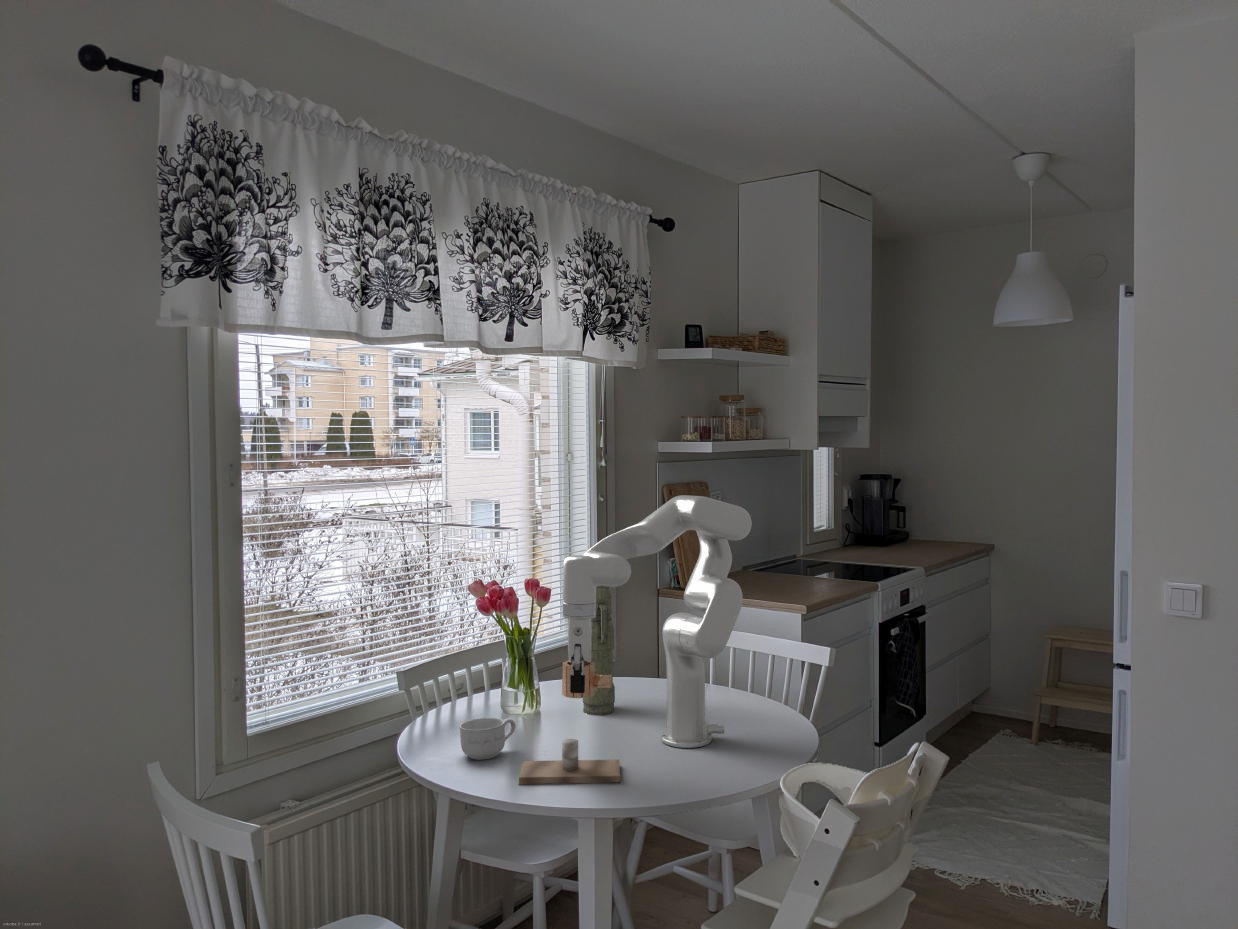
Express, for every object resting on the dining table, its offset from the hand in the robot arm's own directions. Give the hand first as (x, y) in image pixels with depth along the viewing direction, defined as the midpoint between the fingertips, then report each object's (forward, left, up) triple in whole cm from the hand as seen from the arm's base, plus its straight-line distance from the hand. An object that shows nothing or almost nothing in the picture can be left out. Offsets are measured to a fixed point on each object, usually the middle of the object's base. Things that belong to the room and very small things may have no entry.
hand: (578, 687), depth 196 cm
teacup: (+22, -10, -19) cm, 31 cm away
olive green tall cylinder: (-4, -44, -19) cm, 48 cm away
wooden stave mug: (-2, 0, -2) cm, 2 cm away
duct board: (+2, +4, -19) cm, 19 cm away
